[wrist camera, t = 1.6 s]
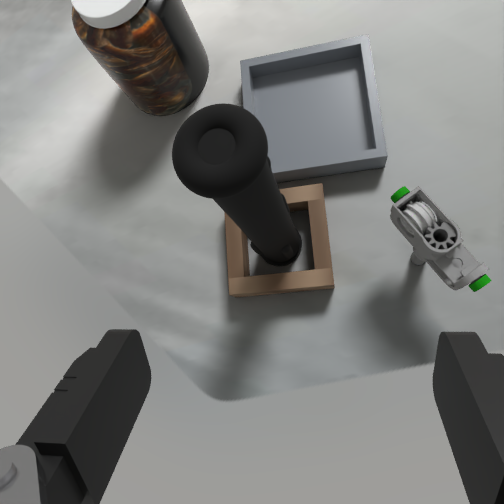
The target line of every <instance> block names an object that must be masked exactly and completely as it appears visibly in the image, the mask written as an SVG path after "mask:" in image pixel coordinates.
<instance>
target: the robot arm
mask: <svg viewBox="0 0 504 504" xmlns="http://www.w3.org/2000/svg"><path fill="white" fill-rule="evenodd" d="M63 377H64V378H63V380H61V381H60V382H59V383H58V385H57V386H56V388H55V389H54V390H55V391H54V393H52V394H51V395H50V396H49V398H48V399H47V401H46V402H45V403H44V405H43V406H42V408H41V409H40V411H39V412H38V414H37V415H36V416H35V418H34V419H33V421H32V422H31V423H30V425H29V426H28V428H27V429H26V431H25V432H24V433H23V435H22V436H21V438H20V439H19V441H18V442H17V443H16V445H12V446H8V447H5V448H2V449H0V504H99V503H100V501H101V499H102V496H103V494H104V492H105V490H106V488H107V485H108V483H109V481H110V478H111V476H112V474H113V472H114V469H115V467H116V464H117V462H118V460H119V458H120V455H121V453H122V451H123V449H124V447H125V444H126V442H127V440H128V437H129V435H130V433H131V430H132V428H133V426H134V423H135V421H136V419H137V417H138V414H139V412H140V410H141V408H142V406H143V403H144V401H145V398H146V396H147V394H148V392H149V388H150V384H151V370H150V366H149V363H148V359H147V356H146V353H145V349H144V346H143V342H142V339H141V336H140V333H139V332H138V331H137V330H122V329H113V330H108V331H107V332H106V334H105V335H104V337H103V338H102V340H101V341H100V343H99V344H98V346H97V347H96V348H90V349H88V350H87V351H86V352H85V353H83V354H82V355H81V356H80V357H79V358H77V359H76V360H75V361H74V362H73V363H72V365H71V366H70V368H69V369H68V371H67V372H66V374H65V375H64V376H63ZM433 391H434V397H435V401H436V404H437V407H438V410H439V413H440V416H441V419H442V422H443V425H444V428H445V431H446V434H447V437H448V440H449V443H450V446H451V449H452V452H453V455H454V458H455V461H456V464H457V467H458V469H459V473H460V476H461V478H462V482H463V485H464V487H465V491H466V493H467V496H468V499H469V502H470V504H504V356H503V355H502V354H488V353H487V351H486V349H485V347H484V345H483V343H482V342H481V340H480V338H479V336H478V335H477V334H476V333H475V332H441V334H440V336H439V341H438V347H437V354H436V360H435V366H434V373H433Z"/></svg>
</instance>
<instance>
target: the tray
mask: <svg viewBox="0 0 504 504" xmlns="http://www.w3.org/2000/svg"><path fill="white" fill-rule="evenodd" d="M240 64H241V78H242V92H243V106H244V109H246V110H248V111H249V112H251V113H252V114H253V115H254V116H255V117H256V118H257V119H258V120H259V122H260V123H261V125H262V126H263V128H264V130H265V133H266V136H267V141H268V157H269V159H270V161H271V169H272V173H273V175H274V178H275V180H276V183H281V182H288V181H294V180H301V179H308V178H315V177H322V176H328V175H335V174H342V173H349V172H356V171H363V170H369V169H376V168H383V167H385V164H386V160H387V156H388V155H387V149H386V142H385V136H384V130H383V123H382V117H381V110H380V104H379V98H378V91H377V85H376V78H375V72H374V66H373V59H372V53H371V46H370V40H369V34H367V35H362V36H357V37H352V38H348V39H343V40H338V41H333V42H328V43H324V44H319V45H314V46H309V47H304V48H300V49H295V50H290V51H285V52H280V53H276V54H271V55H266V56H261V57H256V58H252V59H247V60H242V61H240Z"/></svg>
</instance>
